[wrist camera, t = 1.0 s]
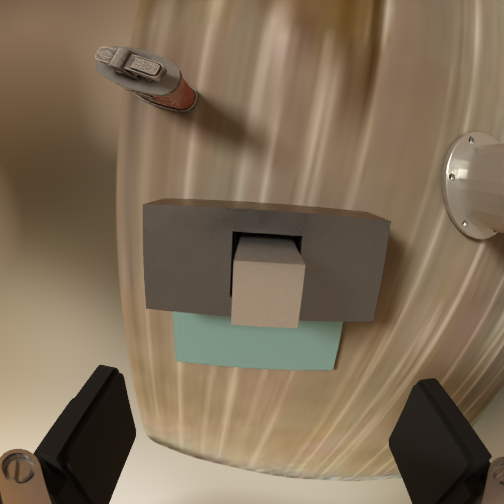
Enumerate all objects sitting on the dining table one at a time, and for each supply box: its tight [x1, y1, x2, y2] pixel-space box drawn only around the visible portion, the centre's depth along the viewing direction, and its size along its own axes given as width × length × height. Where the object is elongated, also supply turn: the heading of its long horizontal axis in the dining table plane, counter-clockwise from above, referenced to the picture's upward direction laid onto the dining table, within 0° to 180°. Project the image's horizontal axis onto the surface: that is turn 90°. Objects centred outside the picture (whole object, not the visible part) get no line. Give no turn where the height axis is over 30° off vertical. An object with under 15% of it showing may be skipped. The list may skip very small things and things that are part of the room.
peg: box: [231, 232, 305, 328], centre depth 24 cm, size 4×4×12 cm
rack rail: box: [143, 198, 391, 322], centre depth 27 cm, size 20×9×6 cm, turn 87°
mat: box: [173, 311, 343, 370], centre depth 32 cm, size 18×8×1 cm, turn 87°
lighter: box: [95, 46, 199, 113], centre depth 21 cm, size 8×3×10 cm, turn 62°
